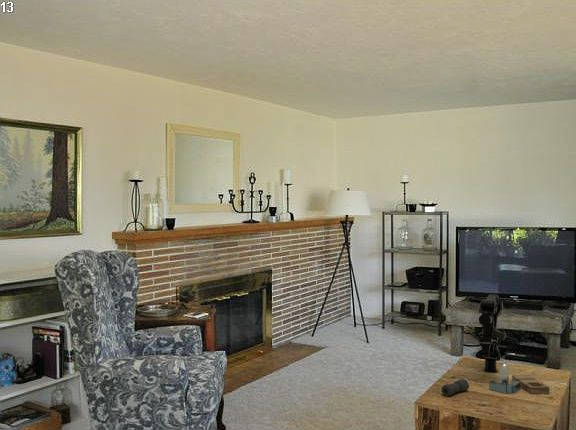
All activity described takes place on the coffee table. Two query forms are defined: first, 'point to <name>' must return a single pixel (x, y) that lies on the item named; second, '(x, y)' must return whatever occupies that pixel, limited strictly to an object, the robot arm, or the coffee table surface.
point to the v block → (505, 387)
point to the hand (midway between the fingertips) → (489, 355)
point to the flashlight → (455, 387)
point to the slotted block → (531, 384)
